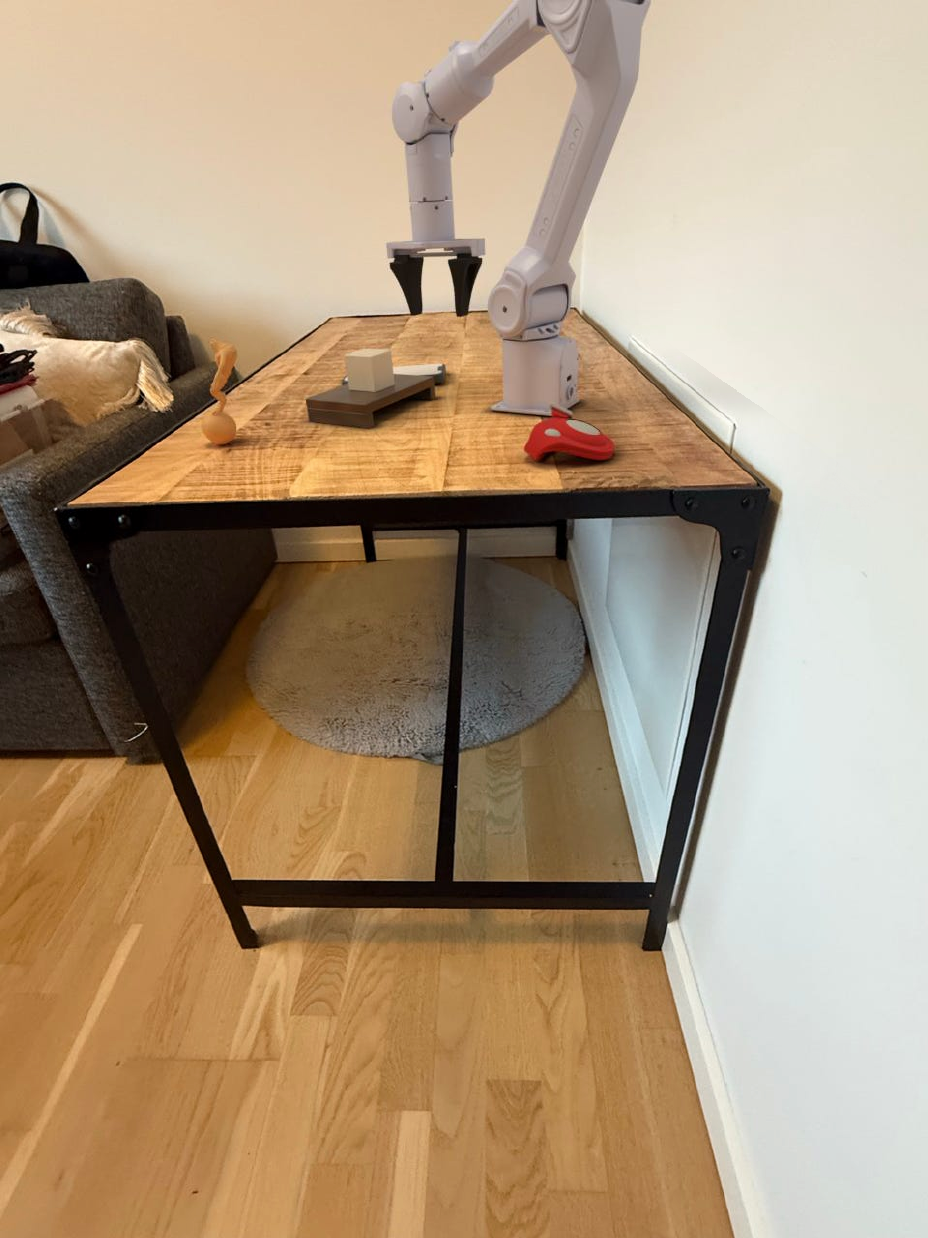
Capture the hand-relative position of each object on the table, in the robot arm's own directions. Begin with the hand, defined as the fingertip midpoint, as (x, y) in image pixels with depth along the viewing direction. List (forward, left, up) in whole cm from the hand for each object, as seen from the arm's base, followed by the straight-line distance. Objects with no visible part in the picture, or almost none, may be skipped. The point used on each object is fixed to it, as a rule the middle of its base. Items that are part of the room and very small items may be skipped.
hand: (439, 315), depth 94 cm
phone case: (+11, -3, -11) cm, 16 cm away
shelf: (+4, +12, -10) cm, 16 cm away
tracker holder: (-28, +19, -11) cm, 35 cm away
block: (+4, +12, -7) cm, 15 cm away
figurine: (+12, +31, -11) cm, 35 cm away
